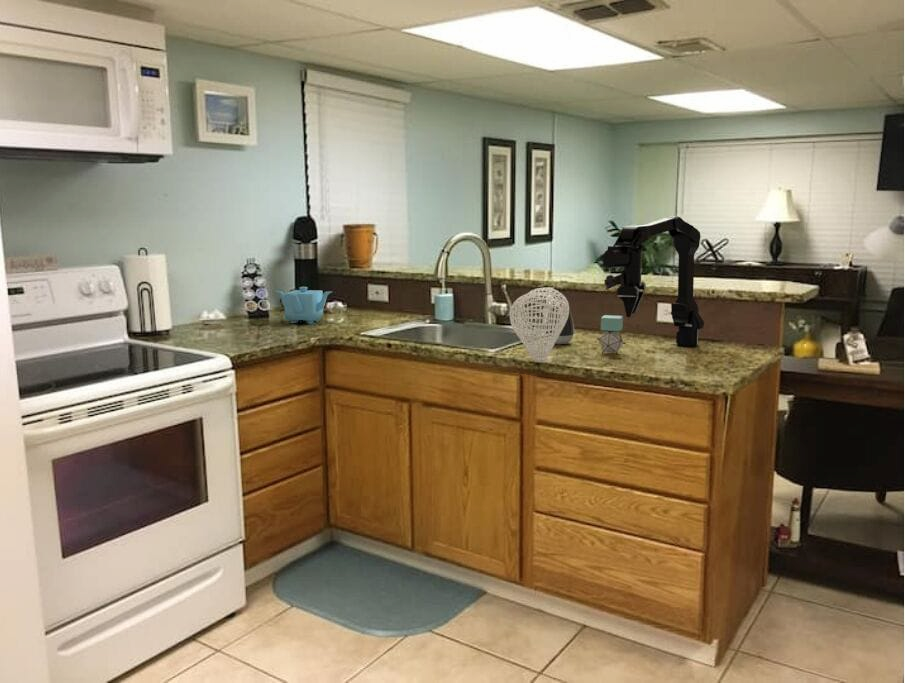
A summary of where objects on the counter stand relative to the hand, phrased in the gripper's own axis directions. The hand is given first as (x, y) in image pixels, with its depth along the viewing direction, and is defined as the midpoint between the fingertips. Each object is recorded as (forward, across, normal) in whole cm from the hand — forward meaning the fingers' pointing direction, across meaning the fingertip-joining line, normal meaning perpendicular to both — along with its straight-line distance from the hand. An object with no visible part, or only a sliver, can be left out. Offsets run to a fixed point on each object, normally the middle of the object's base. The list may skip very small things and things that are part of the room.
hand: (630, 315), depth 248 cm
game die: (+13, 0, -6) cm, 14 cm away
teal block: (+5, 0, -6) cm, 8 cm away
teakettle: (+12, -23, -137) cm, 140 cm away
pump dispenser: (+13, -11, -26) cm, 31 cm away
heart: (+12, +23, -24) cm, 35 cm away
